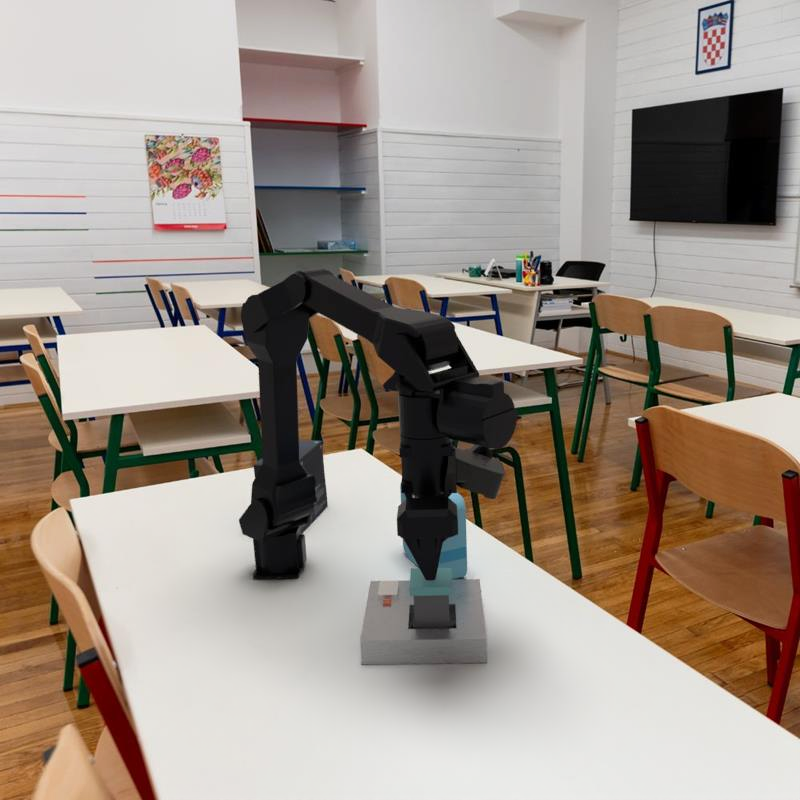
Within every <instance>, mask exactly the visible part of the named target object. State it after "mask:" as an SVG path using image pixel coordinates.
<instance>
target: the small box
mask: <svg viewBox="0 0 800 800" xmlns="http://www.w3.org/2000/svg"><path fill="white" fill-rule="evenodd" d="M323 449H324V448H323V441H322V440H305V439H304V440H302V439H299V457H300V463H301V465H302V466H303V467H304V469H305V470H306V472H307V473H308V474H309V475H313V476H314V477H315V479H316V484H315V494H316V498H317V502H315V503H314V508H313V511H312V512H311V517H310V522H309V523H308V524H304V525H301V526H300V530H301V534H304V532H305V531H306V530H307V529H308V527H309V526H310V525H311V524H312V523H313V522H314V521H315V520H316V519H317V518H318V516H320V515H321V513H322V512H323V511H324V510H325V509H326V508H327V507H328V503H329V502H328V492H327V483H326V475H325V474H326V473H325V463H324V450H323ZM262 462H263V457H262V458H259V460H258V461H256V462H255V463H254V464H253V465H252V466H253V471H254V473H253V474H254V478H255V477H256V475H257V473H258V471H259V469H260V468H261V466H262Z"/></svg>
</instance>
